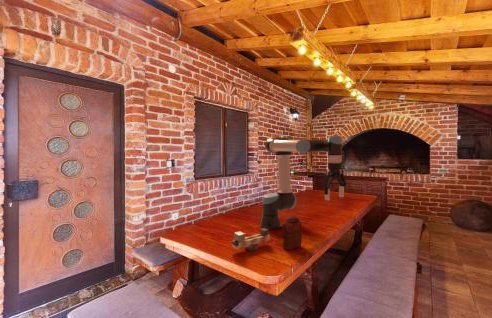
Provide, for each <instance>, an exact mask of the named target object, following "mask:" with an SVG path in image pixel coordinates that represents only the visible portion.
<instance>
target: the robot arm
mask: <svg viewBox="0 0 492 318" xmlns="http://www.w3.org/2000/svg"><path fill="white" fill-rule="evenodd" d="M264 147H265V148H264V149H265V150H266V151H267V152H268V153H271V154H275V156H276V157H277V163H278V164H277V166H278V167H277V169H278V185H279V186H278V190H277V192H276V193H275V192H272V193H265V194H264V195H263V196H262V199H261V205H262V211H261V212H262V214H261V215H262V216H261V219H260V222H259V227H260V229H262V228H265V229H268V230H278V229H281V227H282V223H281V219H280V217H279V212H280V211H286V210H287V211H288V210H291V209H294V208H295V207H296V205H297V196H296V194H295V193H294V191H293V190H292V188H291V187H292V185H291V163H290V161H291V160H290V158H291V157H292V153H293V152H294V153H302V154H305V153H306V154H307V153H328V154H327V155H328V156H327V162H328V164H327V168H328V170H329V171H325V175H324V178H323V182H322V184H321V188H322V189H324V200H325V201H330V199H331V198H330V196H331V195H330V190H331V189H330V186H331V184H332V182H333V180H335V179H336V180H337V182H338V184H339V187H338V197H339V198H344V197H345V187H346V186H347V184H348V183H347V180H346V177H345V173H344V172H345V171H344V169H343V167H342V166H343V163H342V161H343V159H342V158H343V157H342V156H343V137H342V136H341V135H329V136H328V139H292V138H290V137H285V136H284V137H279V136H278V137H269V138H268V139H266V142H265V144H264Z"/></svg>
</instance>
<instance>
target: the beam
mask: <svg viewBox="0 0 492 318" xmlns="http://www.w3.org/2000/svg"><path fill="white" fill-rule="evenodd" d="M270 240H271V237H270V234H269V229H265V228H260V233H257V234H253V235H249V236H245V241H243V242H237V241H235V240H234V239H233V240H231V247H232V248H234V249H235V250H239V249H247V250H248V251H250V252H252V251H255V250H259V244H261V243H265V242H268V241H270Z"/></svg>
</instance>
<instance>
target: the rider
mask: <svg viewBox="0 0 492 318" xmlns="http://www.w3.org/2000/svg"><path fill="white" fill-rule="evenodd" d="M245 237H246V233H244V232H243V231H241V230H240V231H236V232H234V233H233V240H235V241H237V242H243V241H245Z"/></svg>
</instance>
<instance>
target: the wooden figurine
mask: <svg viewBox="0 0 492 318" xmlns="http://www.w3.org/2000/svg"><path fill="white" fill-rule="evenodd" d="M302 230H303V224H302V221H300V219H299V218H298V217H297V216H294V215H290V216H288V217H287V218H286V219H285V221H284V222H283V224H282V231H281V233H282V234H281V236H282V239H283V240H282V249H284V250H294V249H297V248H300V247H301V245H302V239H303V238H302V237H303V236H302Z"/></svg>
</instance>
